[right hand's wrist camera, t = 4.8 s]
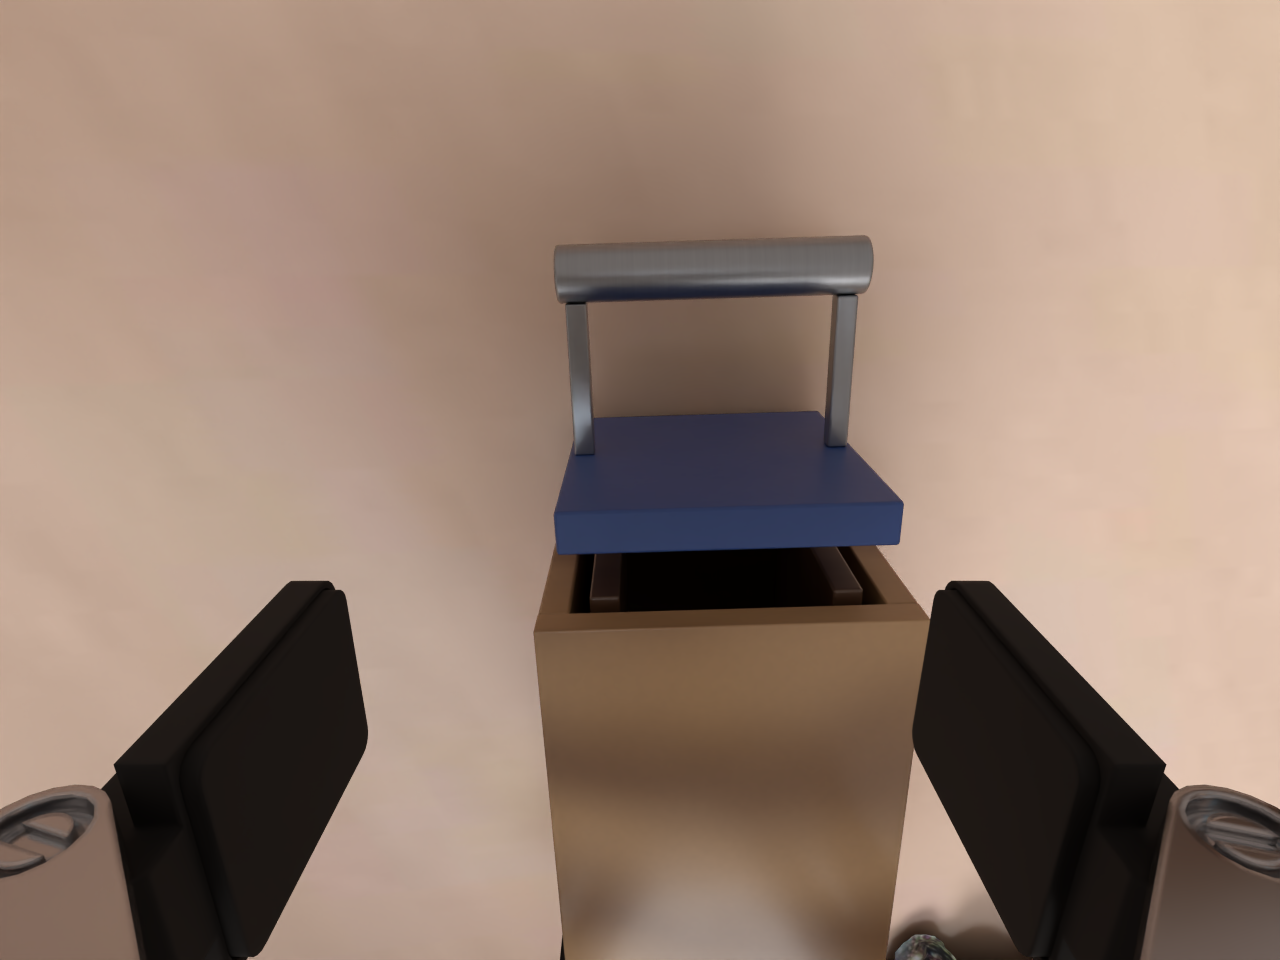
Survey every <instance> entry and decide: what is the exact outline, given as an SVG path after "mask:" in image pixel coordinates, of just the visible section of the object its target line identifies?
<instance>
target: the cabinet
mask: <svg viewBox="0 0 1280 960" xmlns="http://www.w3.org/2000/svg"><path fill="white" fill-rule="evenodd" d="M837 548H838V550H839V552H840V553H841V555H842V557H843V558H844V560H845V561H846V563H847V565H848V566H849V568H850V570H851V571H852V573H853V575H854V576H855V578H856V580H857V581H858V583H859V584H860V586H861V588H862V590H863V595H862V605H846V606H812V607H779V608H745V609H711V610H678V611H644V612H610V613H590V591H591V582H592V574H593V565H594V557H595V554H572V555H559V554H558V553H557V550H556V544H555V548H554V552H553V556H552V560H551V564H550V569H549V573H548V577H547V581H546V585H545V589H544V593H543V597H542V602H541V606H540V610H539V614H538V616H537V620H536V624H535V628H534V643H535V653H536V663H537V674H538V684H539V694H540V705H541V715H542V725H543V736H544V746H545V757H546V767H547V777H548V788H549V798H550V808H551V819H552V829H553V839H554V850H555V860H556V870H557V881H558V891H559V901H560V912H561V922H562V933H563V943H564V953H565V960H886V953H887V945H888V938H889V930H890V923H891V915H892V908H893V900H894V892H895V885H896V877H897V870H898V862H899V855H900V847H901V840H902V832H903V825H904V817H905V810H906V802H907V795H908V787H909V780H910V772H911V765H912V757H913V750H914V745H913V739H912V726H913V720H914V714H915V708H916V702H917V696H918V690H919V684H920V678H921V672H922V666H923V660H924V654H925V648H926V642H927V636H928V630H929V624H930V619H929V617H928V616H927V614H926V613H925V612H924V610H923V609H922V608H921V606H920V605H919V604H917V601H916V600H915V599H914V597H913V596H912V595H911V593H910V592H909V591H908V589H907V588H906V586H905V585H904V584H903V582H902V581H901V580H900V578H899V577H898V575H897V574H896V573H895V571H894V570H893V569H892V567H891V566H890V565H889V563H888V562H887V560H886V559H885V558H884V556H883V555H882V554H881V552H880V551H879V549H878V548H877V547H876V545H872V546H838V547H837Z"/></svg>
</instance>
